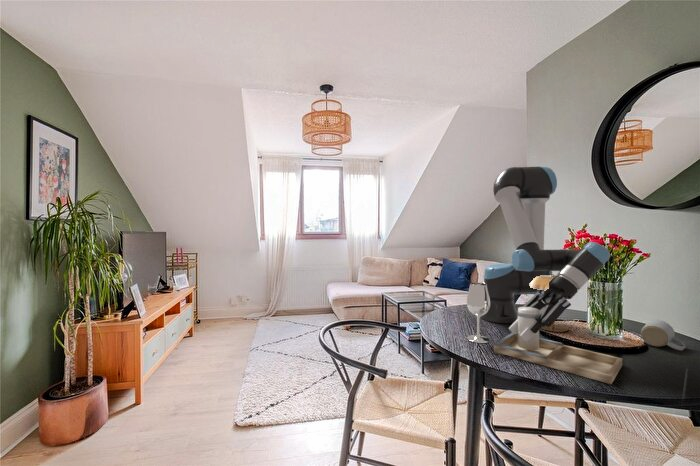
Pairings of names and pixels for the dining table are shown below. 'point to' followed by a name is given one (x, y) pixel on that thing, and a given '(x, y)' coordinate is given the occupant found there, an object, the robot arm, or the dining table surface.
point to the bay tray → (563, 358)
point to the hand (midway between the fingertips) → (517, 334)
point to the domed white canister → (524, 320)
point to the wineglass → (478, 307)
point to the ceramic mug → (660, 335)
